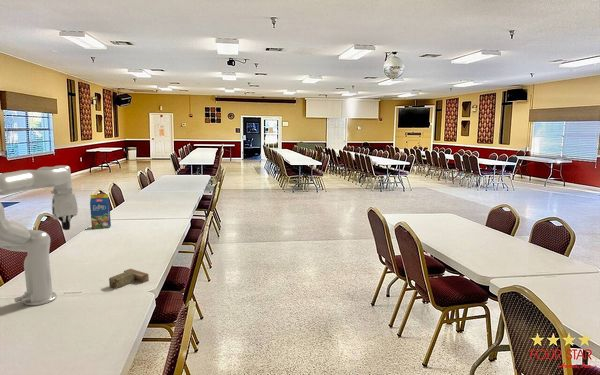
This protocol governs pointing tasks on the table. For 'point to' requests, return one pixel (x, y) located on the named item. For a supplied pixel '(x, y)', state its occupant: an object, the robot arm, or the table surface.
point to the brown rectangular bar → (139, 275)
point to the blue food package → (100, 211)
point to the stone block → (121, 279)
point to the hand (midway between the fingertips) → (66, 229)
